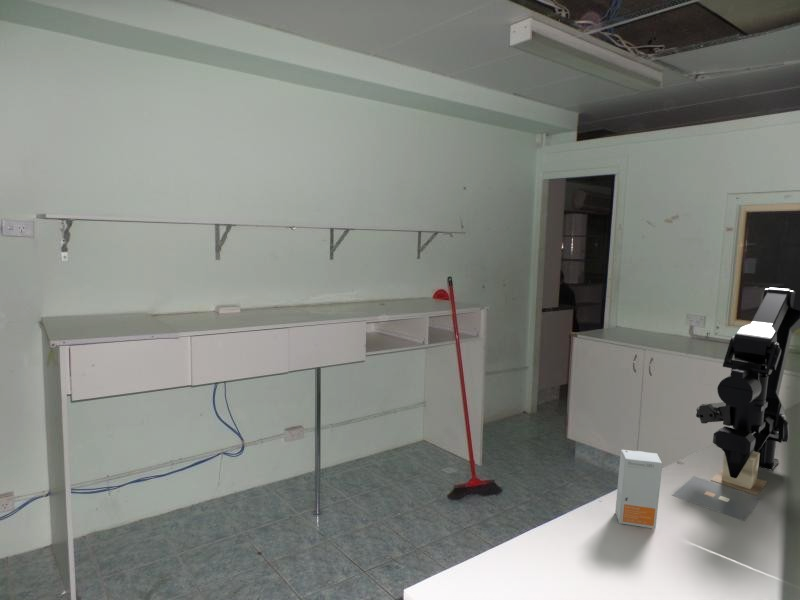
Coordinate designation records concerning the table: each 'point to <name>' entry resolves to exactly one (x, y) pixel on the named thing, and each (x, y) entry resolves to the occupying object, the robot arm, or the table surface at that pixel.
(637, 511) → the skincare box
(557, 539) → the table surface
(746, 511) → the tile
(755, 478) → the birch block
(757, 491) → the pad
